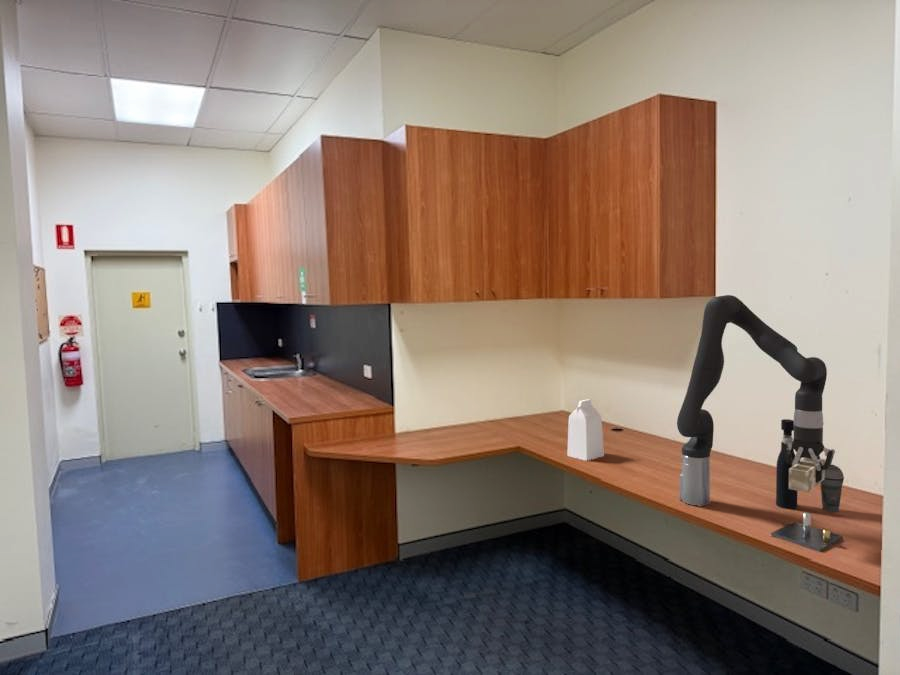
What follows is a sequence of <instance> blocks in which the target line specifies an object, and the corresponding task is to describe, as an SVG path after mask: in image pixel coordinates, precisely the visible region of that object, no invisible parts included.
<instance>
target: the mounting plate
mask: <svg viewBox="0 0 900 675" xmlns="http://www.w3.org/2000/svg"><path fill="white" fill-rule="evenodd" d="M811 514H812V513H810V512H806V511H804V512H802V523H800V522H796V521H794V522H791V523H788V524H786V525H785V526H782V527H780V528H778V529H776V530H774V531H772V532H770V536H771V535H772V536H771V537H773V536H775V537H774V538H776V537H778V538H777V539H779V538H781V539H780V540H782V539H783V541H785V540H787V541H786V542H788V541H789V543H791V542H792V543H791V544H794V543H795V544H794V545H797V544H798V546H801V547H804V548H807V549H810V550H813V551H816V552H820V553H821V552H822V551H824V550H827V549H828V548H830V547H831V546H833V545H835V544H837V543H839V542H841V541H843V540H844V536H843V535H840V534H837V533H834V532H831V530H829V529H820V528H816V527H812V526H811V525H812V519H811V518H812V515H811Z"/></svg>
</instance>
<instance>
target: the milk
mask: <svg viewBox="0 0 900 675" xmlns="http://www.w3.org/2000/svg"><path fill="white" fill-rule="evenodd" d="M577 405H578V406H577V407H576V408H575V409H574V410H573V411H572V412H571V413H570V414H569V415H568V422H567V423H568V426H567V452H566V453H567V455H566V456H567V457H570V458H575V459H577V458H578V460H581V459H582V460H581V461H585V460H586V461H585V462H588V461H592V460H594V459H598V457H599V458H603V457H604V456H605V449H604V435H603V421H602V416H601V414H600V413H599V412H598V411H597V409H596V408H595V407H594V405H593V404H592V400H591V399H587V398H586V399H584V400H582V399H581V400H579V401H578V404H577ZM591 459H592V460H591ZM587 460H588V461H587Z"/></svg>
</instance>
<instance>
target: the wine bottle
mask: <svg viewBox="0 0 900 675" xmlns="http://www.w3.org/2000/svg"><path fill="white" fill-rule="evenodd" d="M780 422H781V423H780V427H781V430H782V431H783V434H782V435H783V436H782V437H781V439H782V440H781V442H780V444H781V445H780V447H781V448H780V452H779V454H778V456H777V460H776V476H775V477H776V480H775V481H776V485H775V486H776V489H775V490H776V491H775V493H776V494H775V505H776V506H777V507H779V508H783V509H789V510H792V509H797V508H798V493H799V491H797V490H792V489H789V468H791V467H792V465H791V464H789V463H786V461H785V457H784V453H783V449H782V444H784V443H786V442H787V443H792V442H793V440H794V438H793V437H794V436H793V432H794V419H781V420H780ZM792 436H793V437H792ZM790 452H791V456H792V459H793V460H794V458H795V456H796V452H795V450H794V448H793V447H791V450H790Z"/></svg>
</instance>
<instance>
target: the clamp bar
mask: <svg viewBox="0 0 900 675" xmlns="http://www.w3.org/2000/svg"><path fill="white" fill-rule="evenodd" d="M825 460H826V458H821V462H822V465H824V463H825ZM816 470H817V469H816V466H815V464H814V463H813V460H812V459H809V458H802V459H801V460H800V462H798V463H797V464H795V465H794V466H792V467H791V468H789V489H792V490H797V491H798V492H803V493H809V492H811V491H812V490H813V489H814V488H816V487H817V486H818V485H819V484H820V482H821V481H823V480H824V479H825V470H823V476H822V480H821V481H820V482H819V483H817V482H816Z"/></svg>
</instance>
